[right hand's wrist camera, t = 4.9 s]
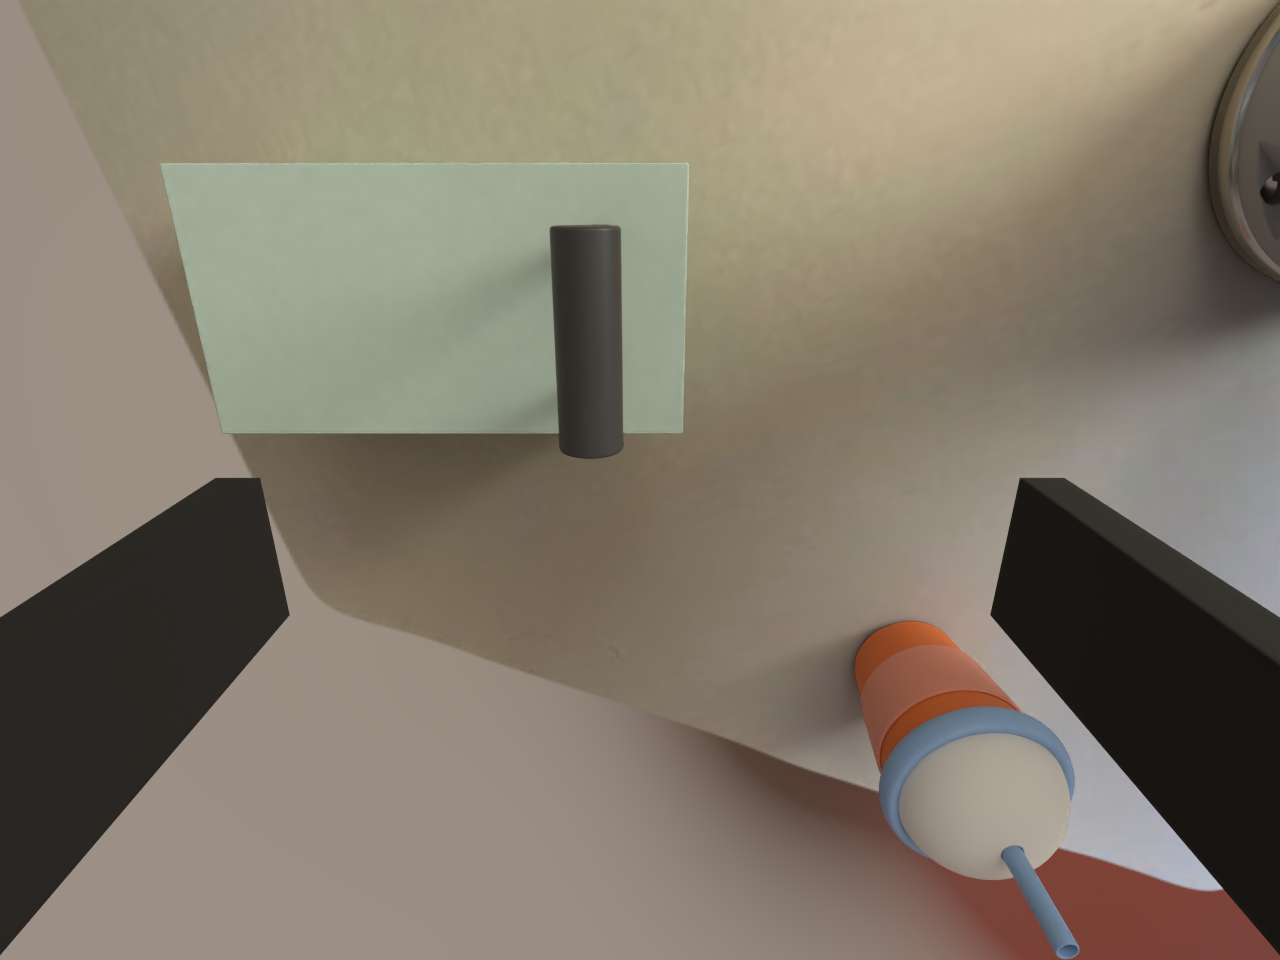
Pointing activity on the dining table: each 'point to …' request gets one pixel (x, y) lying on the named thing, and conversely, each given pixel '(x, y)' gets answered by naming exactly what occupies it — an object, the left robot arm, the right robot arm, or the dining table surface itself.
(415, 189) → the lid
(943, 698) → the cup with straw
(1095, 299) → the dining table surface
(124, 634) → the right robot arm
